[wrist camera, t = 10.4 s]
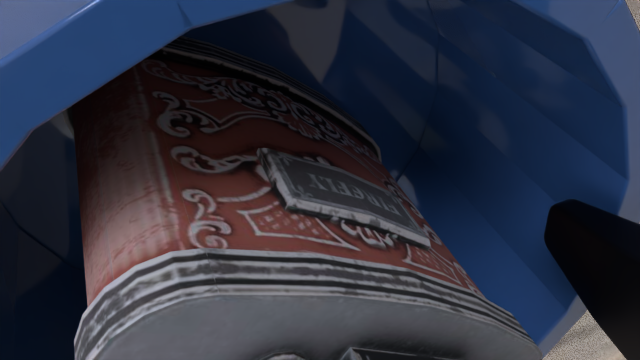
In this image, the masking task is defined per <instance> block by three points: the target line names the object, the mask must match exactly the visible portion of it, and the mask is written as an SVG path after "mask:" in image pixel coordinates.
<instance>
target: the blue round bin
mask: <svg viewBox="0 0 640 360" xmlns="http://www.w3.org/2000/svg"><path fill="white" fill-rule="evenodd" d="M180 36H184V37H188V38H192V39H196V40H200V41H204V42H208V43H211V44H214V45H216V46H219V47H222V48H225V49H227V50H230V51H233V52H235V53H238V54H241V55H243V56H246V57H249V58H252V59H254V60H257V61H260V62H262V63H265V64H268V65H270V66H273V67H274V68H276V69H278V70H280V71H282V72H283V73H285V74H287V75H289V76H291V77H292V78H294V79H296V80H298V81H300V82H301V83H303V84H305V85H307V86H309V87H310V88H312V89H314V90H316V91H318V92H319V93H321V94H323V95H324V96H325V97H327V98H328V99H329V100H331V101H332V102H333V103H334V104H336V105H337V106H338V107H340V108H341V109H342V110H344V111H345V112H346V113H348V114H349V115H350V116H352V117H353V118H354V119H356V120H357V121H358V122H359V123H360V124H361V125H362V126H363V128H364V129H365V130H366V131H367V133H368V134H369V135H370V136H371V138H372V139H373V140H374V141H375V143H376V144H377V145H378V147H379V148H380V153H381V160H382V161H381V163H382V164H383V166H384V167H385V168H386V170H387V171H388V172H389V173H390V175H391V176H392V177H393V179H394V180H395V181H396V182H397V184H398V185H399V186H400V188H401V189H402V190H403V192H404V193H405V194H406V195H407V197H408V198H409V199H410V201H411V202H412V203H413V204H414V206H415V207H416V208H417V210H418V211H419V212H420V214H421V215H422V216H423V217H424V219H425V220H426V221H427V223H428V224H429V225H430V227H431V228H432V229H433V230H434V232H435V233H436V234H437V236H438V237H439V238H440V239H441V241H442V242H443V243H444V245H445V246H446V247H447V249H448V250H449V251H450V252H451V254H452V255H453V256H454V258H455V259H456V260H457V261H458V263H459V264H460V265H461V267H462V268H463V269H464V271H465V272H466V273H467V274H468V276H469V277H470V278H471V280H472V281H473V282H474V283H475V285H476V286H477V287H478V289H479V290H480V291H481V293H482V294H483V295H484V296H485V298H486V299H487V300H489V301H490V302H492V303H494V304H496V305H497V306H499V307H501V308H503V309H505V310H506V311H508V312H510V313H511V314H512V315H513V316H514V317H515V319H516V320H517V321H518V322H519V324H520V325H521V326H522V327H523V329H524V330H525V331H526V332H527V334H528V335H529V336H530V337H531V339H532V340H533V341H534V343H535V344H536V345H537V346H538V348H539V349H540V350H541V352H542V353H543V355H542V359H543V358H544V357H545V356H546V355H547V353H548V352H549V351H550V350H551V349H552V348H553V347H554V346H555V345H556V344H557V343H558V342H559V341H560V339H561V338H562V337H563V336H564V335H565V334H566V333H567V332H568V331H569V330H570V329H571V328H572V326H573V325H574V324H575V323H576V322H577V321H578V320H579V319H580V318H581V317H582V316H583V315H584V314H585V312H586V311H587V308H586V307H585V305H584V304H583V302H582V301H581V299H580V298H579V296H578V295H577V293H576V292H575V290H574V288H573V287H572V285H571V284H570V282H569V281H568V279H567V278H566V276H565V275H564V273H563V272H562V270H561V269H560V267H559V265H558V264H557V262H556V261H555V259H554V258H553V256H552V255H551V253H550V252H549V250H548V248H547V246H546V244H545V241H544V232H545V227H546V222H547V217H548V212H549V209H550V207H551V206H552V205H554V204H556V203H559V202H562V201H564V200H567V199H576V200H579V201H582V202H584V203H587V204H589V205H592V206H595V207H597V208H600V209H602V210H605V211H607V212H610V213H612V214H615V215H618V216H620V217H623V218H625V219H628V220H630V221H633V222H635V223H638V224H639V223H640V31H639V29H638V27H637V24H636V22H635V20H634V18H633V16H632V14H631V12H630V10H629V8H628V6H627V3H626V1H625V0H0V360H75V349H74V339H75V336H76V333H77V330H78V327H79V324H80V321H81V318H82V315H83V313H84V312H85V311H86V309H87V308H88V305H87V292H86V280H85V267H84V254H83V241H82V229H81V216H80V203H79V191H78V178H77V165H76V153H75V140H74V136H73V135H72V133H71V131H70V130H69V128H68V126H67V125H66V123H65V121H64V115H63V111H64V110H66V109H67V108H69V107H70V106H72V105H74V104H75V103H77V102H78V101H80V100H81V99H83V98H84V97H86V96H88V95H89V94H91V93H92V92H94V91H95V90H97V89H99V88H100V87H102V86H103V85H105V84H106V83H108V82H109V81H111V80H113V79H114V78H116V77H117V76H119V75H120V74H122V73H124V72H125V71H127V70H128V69H130V68H131V67H133V66H135V65H136V64H138V63H139V62H141V61H142V60H144V59H145V58H147V57H149V56H150V55H152V54H153V53H155V52H156V51H158V50H160V49H161V48H163V47H164V46H166V45H167V44H169V43H170V42H172V41H174V40H175V39H177V38H178V37H180Z"/></svg>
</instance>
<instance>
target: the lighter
mask: <svg viewBox="0 0 640 360" xmlns="http://www.w3.org/2000/svg"><path fill="white" fill-rule="evenodd" d="M63 115H64V121H65V123H66V125H67V126H68V128H69V130H70V131H71V133H72V135H73V136H74V140H75V153H76V165H77V178H78V191H79V203H80V216H81V229H82V241H83V254H84V267H85V280H86V292H87V305H88V308H87V309H86V311H85V312H84V313H83V315H82V318H81V321H80V324H79V327H78V330H77V333H76V336H75V339H74V349H75V360H542V355H543V353H542V352H541V350H540V349H539V348H538V346H537V345H536V344H535V343H534V341H533V340H532V339H531V337H530V336H529V335H528V334H527V332H526V331H525V330H524V329H523V327H522V326H521V325H520V324H519V322H518V321H517V320H516V319H515V317H514V316H513V315H512V314H511V313H510V312H508V311H506V310H505V309H503V308H501V307H499V306H497V305H496V304H494V303H492V302H490V301H489V300H487V299H486V298H485V296H484V295H483V294H482V293H481V291H480V290H479V289H478V287H477V286H476V285H475V283H474V282H473V281H472V280H471V278H470V277H469V276H468V274H467V273H466V272H465V271H464V269H463V268H462V267H461V265H460V264H459V263H458V261H457V260H456V259H455V258H454V256H453V255H452V254H451V252H450V251H449V250H448V249H447V247H446V246H445V245H444V243H443V242H442V241H441V239H440V238H439V237H438V236H437V234H436V233H435V232H434V230H433V229H432V228H431V227H430V225H429V224H428V223H427V221H426V220H425V219H424V217H423V216H422V215H421V214H420V212H419V211H418V210H417V208H416V207H415V206H414V204H413V203H412V202H411V201H410V199H409V198H408V197H407V195H406V194H405V193H404V192H403V190H402V189H401V188H400V186H399V185H398V184H397V182H396V181H395V180H394V179H393V177H392V176H391V175H390V173H389V172H388V171H387V170H386V168H385V167H384V166H383V164H382V163H381V161H382V160H381V153H380V148H379V147H378V145H377V144H376V143H375V141H374V140H373V139H372V138H371V136H370V135H369V134H368V133H367V131H366V130H365V129H364V128H363V126H362V125H361V124H360V123H359V122H358V121H357V120H356V119H354V118H353V117H352V116H350V115H349V114H348V113H346V112H345V111H344V110H342V109H341V108H340V107H338V106H337V105H336V104H334V103H333V102H332V101H331V100H329V99H328V98H327V97H325V96H324V95H323V94H321V93H319V92H318V91H316V90H314V89H312V88H310V87H309V86H307V85H305V84H303V83H301V82H300V81H298V80H296V79H294V78H292V77H291V76H289V75H287V74H285V73H283V72H282V71H280V70H278V69H276V68H274V67H273V66H270V65H268V64H265V63H262V62H260V61H257V60H254V59H252V58H249V57H246V56H243V55H241V54H238V53H235V52H233V51H230V50H227V49H225V48H222V47H219V46H216V45H214V44H211V43H208V42H204V41H200V40H196V39H192V38H188V37H184V36H180V37H178V38H177V39H175V40H174V41H172V42H170V43H169V44H167V45H166V46H164V47H163V48H161V49H160V50H158V51H156V52H155V53H153V54H152V55H150V56H149V57H147V58H145V59H144V60H142V61H141V62H139V63H138V64H136V65H135V66H133V67H131V68H130V69H128V70H127V71H125V72H124V73H122V74H120V75H119V76H117V77H116V78H114V79H113V80H111V81H109V82H108V83H106V84H105V85H103V86H102V87H100V88H99V89H97V90H95V91H94V92H92V93H91V94H89V95H88V96H86V97H84V98H83V99H81V100H80V101H78V102H77V103H75V104H74V105H72V106H70V107H69V108H67V109H66V110H64V111H63Z"/></svg>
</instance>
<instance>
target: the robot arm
mask: <svg viewBox="0 0 640 360" xmlns="http://www.w3.org/2000/svg"><path fill="white" fill-rule="evenodd" d="M544 241H545V244H546V246H547V248H548V250H549V252H550V253H551V255H552V256H553V258H554V259H555V261H556V262H557V264H558V265H559V267H560V269H561V270H562V272H563V273H564V275H565V276H566V278H567V279H568V281H569V282H570V284H571V285H572V287H573V288H574V290H575V292H576V293H577V295H578V296H579V298H580V299H581V301H582V302H583V304H584V305H585V307H586V308H587V310H588V311H589V313H590V314H591V315H592V317H593V318H594V319H595V321H596V322H597V323H598V325H599V326H600V327H601V328H602V330H603V331H604V332H605V333H606V334H607V336H608V337H609V338H610V339H611V341H612V342H613V343H614V344H615V346H616V347H617V348H618V349H619V351H620V352H621V353H622V354H623V355H624V357H625V358H626V359H627V360H640V224H638V223H635V222H633V221H630V220H628V219H625V218H623V217H620V216H618V215H615V214H612V213H610V212H607V211H605V210H602V209H600V208H597V207H595V206H592V205H589V204H587V203H584V202H582V201H579V200H576V199H567V200H564V201H562V202H559V203H556V204H554V205H552V206H551V207H550V209H549V212H548V217H547V222H546V227H545V232H544Z"/></svg>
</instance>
